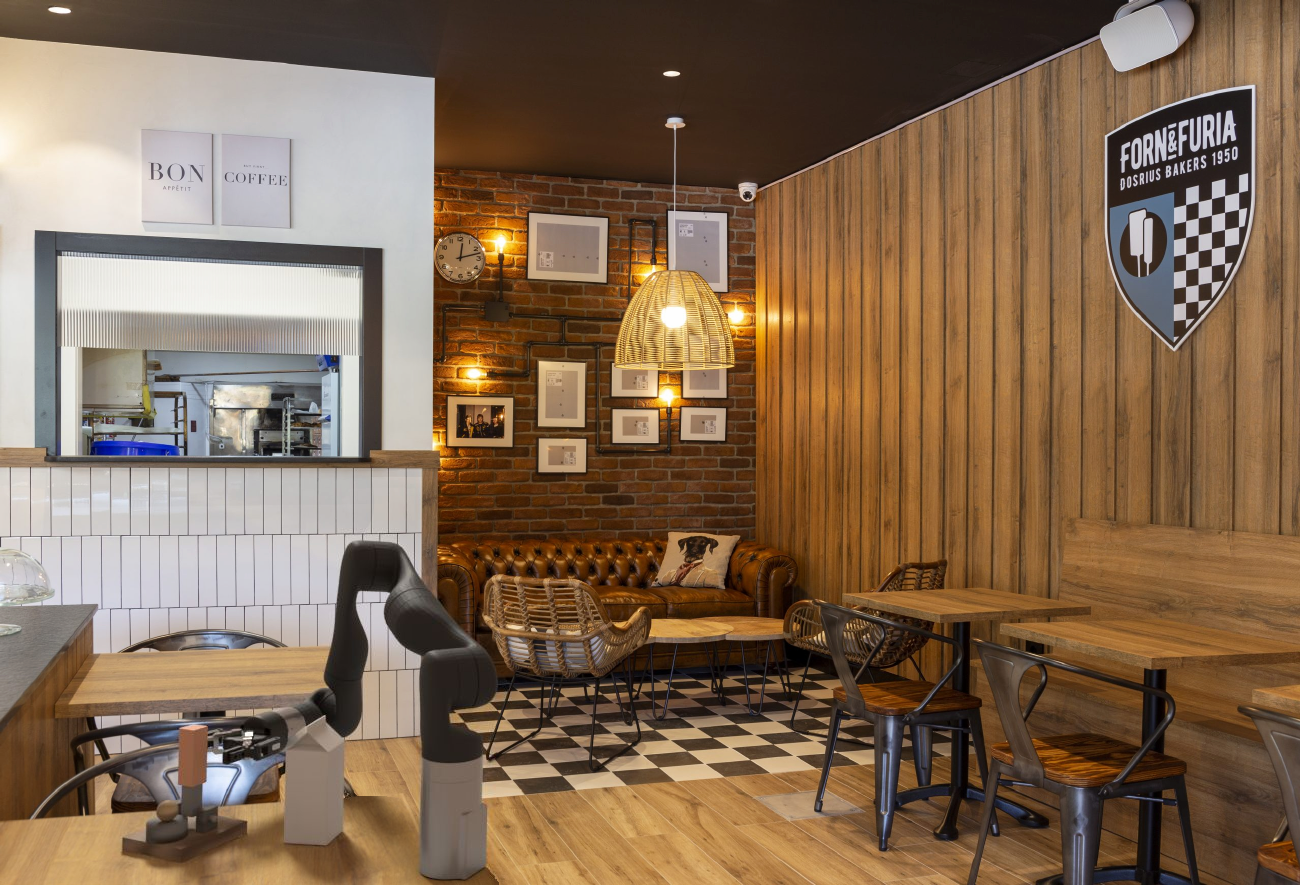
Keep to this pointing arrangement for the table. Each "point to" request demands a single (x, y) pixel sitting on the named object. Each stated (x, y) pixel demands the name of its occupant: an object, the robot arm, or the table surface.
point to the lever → (192, 767)
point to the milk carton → (314, 785)
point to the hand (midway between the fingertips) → (203, 755)
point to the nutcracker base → (189, 842)
